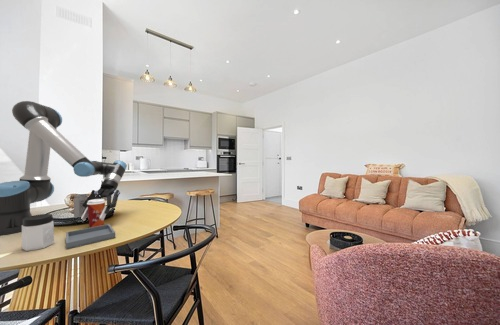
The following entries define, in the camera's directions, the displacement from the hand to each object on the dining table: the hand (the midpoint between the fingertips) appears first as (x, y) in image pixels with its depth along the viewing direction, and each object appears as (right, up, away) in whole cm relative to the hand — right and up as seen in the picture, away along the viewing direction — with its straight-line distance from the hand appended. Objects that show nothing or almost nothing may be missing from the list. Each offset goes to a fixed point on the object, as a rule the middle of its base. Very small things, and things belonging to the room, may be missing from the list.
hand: (92, 219), depth 96 cm
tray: (+7, -5, -10) cm, 13 cm away
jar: (-7, -6, -18) cm, 20 cm away
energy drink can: (-16, -5, +12) cm, 20 cm away
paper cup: (0, -5, +3) cm, 6 cm away
